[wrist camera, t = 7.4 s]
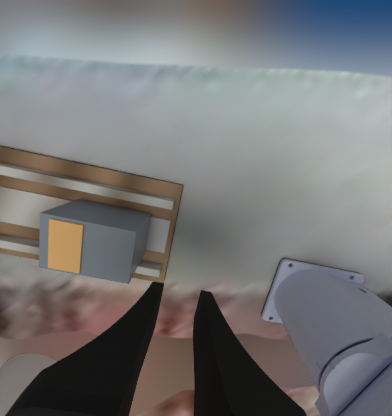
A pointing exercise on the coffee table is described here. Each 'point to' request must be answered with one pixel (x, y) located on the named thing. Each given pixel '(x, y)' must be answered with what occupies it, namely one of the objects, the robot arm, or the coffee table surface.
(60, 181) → the din rail board
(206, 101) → the coffee table surface
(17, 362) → the cylinder with rectangular tab
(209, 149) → the coffee table surface
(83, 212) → the block
